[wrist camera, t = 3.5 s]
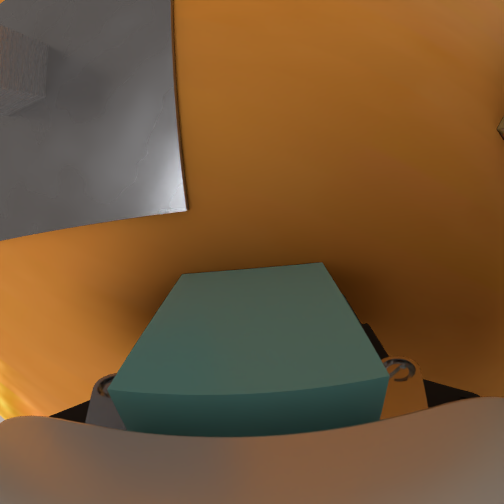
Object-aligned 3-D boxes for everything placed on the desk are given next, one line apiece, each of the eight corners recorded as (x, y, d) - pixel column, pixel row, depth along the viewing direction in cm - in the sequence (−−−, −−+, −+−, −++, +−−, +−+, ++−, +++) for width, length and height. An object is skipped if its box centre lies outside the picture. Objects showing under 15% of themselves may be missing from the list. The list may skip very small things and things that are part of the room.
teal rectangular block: (322, 262, 11) (389, 375, 5) (321, 373, 12) (353, 500, 6) (182, 273, 11) (107, 389, 5) (204, 382, 13) (175, 507, 6)
